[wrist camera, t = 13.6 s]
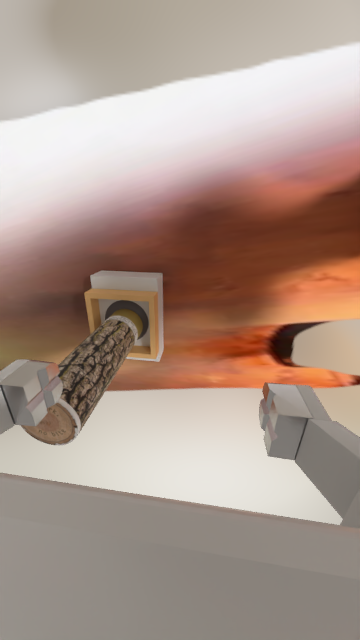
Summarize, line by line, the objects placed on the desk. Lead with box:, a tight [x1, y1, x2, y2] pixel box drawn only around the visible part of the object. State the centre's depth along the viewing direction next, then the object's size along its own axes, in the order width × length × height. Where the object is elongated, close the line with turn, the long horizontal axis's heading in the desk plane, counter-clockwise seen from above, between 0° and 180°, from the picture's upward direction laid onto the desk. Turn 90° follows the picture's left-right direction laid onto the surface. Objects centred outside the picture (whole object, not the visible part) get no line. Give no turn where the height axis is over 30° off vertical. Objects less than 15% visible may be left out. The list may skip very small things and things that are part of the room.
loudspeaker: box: [84, 270, 164, 361], centre depth 47 cm, size 13×18×8 cm
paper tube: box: [21, 309, 143, 445], centre depth 35 cm, size 7×7×25 cm
